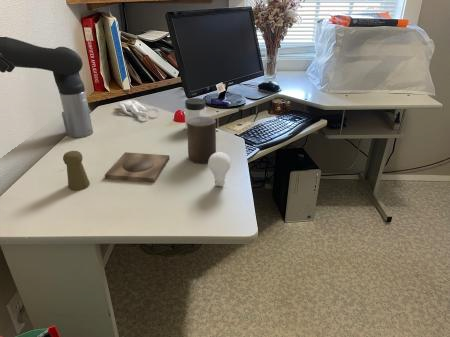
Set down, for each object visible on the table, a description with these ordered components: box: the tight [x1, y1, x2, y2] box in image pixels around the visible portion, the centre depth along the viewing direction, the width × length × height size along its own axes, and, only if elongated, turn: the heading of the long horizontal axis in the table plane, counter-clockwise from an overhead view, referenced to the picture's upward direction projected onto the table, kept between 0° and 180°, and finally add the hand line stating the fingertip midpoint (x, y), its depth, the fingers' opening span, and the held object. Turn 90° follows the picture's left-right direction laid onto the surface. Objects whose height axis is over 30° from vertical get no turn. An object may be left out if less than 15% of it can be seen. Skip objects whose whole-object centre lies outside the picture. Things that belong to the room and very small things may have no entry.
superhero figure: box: [117, 99, 161, 122], centre depth 160 cm, size 12×6×25 cm
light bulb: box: [207, 151, 232, 187], centre depth 101 cm, size 7×7×11 cm
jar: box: [184, 97, 207, 130], centre depth 141 cm, size 9×8×12 cm
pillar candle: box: [186, 116, 217, 165], centre depth 117 cm, size 10×10×15 cm
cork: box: [62, 150, 91, 192], centre depth 101 cm, size 6×6×11 cm
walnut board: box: [104, 151, 170, 183], centre depth 113 cm, size 16×16×2 cm
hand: (9, 70), depth 85 cm, fingers open, 8 cm apart
